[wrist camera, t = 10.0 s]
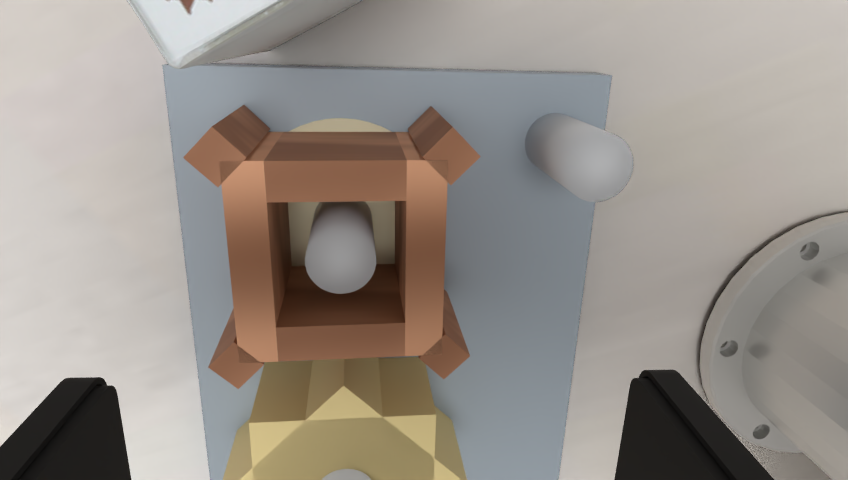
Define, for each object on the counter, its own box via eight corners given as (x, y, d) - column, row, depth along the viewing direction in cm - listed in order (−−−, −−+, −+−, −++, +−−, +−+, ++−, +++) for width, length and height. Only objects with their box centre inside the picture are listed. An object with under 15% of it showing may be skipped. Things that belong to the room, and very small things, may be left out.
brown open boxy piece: (446, 310, 24) (469, 378, 19) (239, 317, 23) (210, 390, 18) (454, 105, 21) (482, 126, 17) (218, 104, 20) (179, 126, 16)
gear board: (596, 72, 23) (692, 89, 17) (546, 479, 30) (600, 605, 23) (175, 62, 21) (96, 76, 15) (222, 498, 28) (182, 641, 21)
